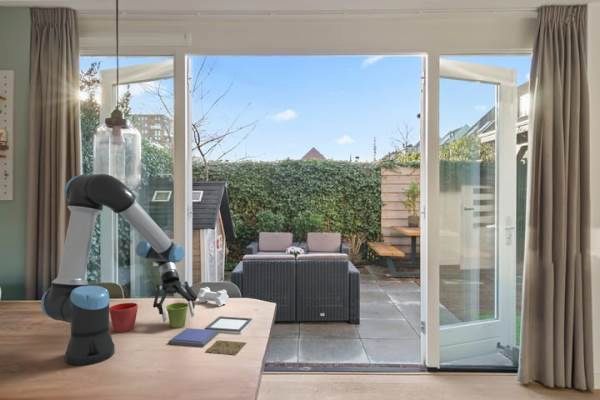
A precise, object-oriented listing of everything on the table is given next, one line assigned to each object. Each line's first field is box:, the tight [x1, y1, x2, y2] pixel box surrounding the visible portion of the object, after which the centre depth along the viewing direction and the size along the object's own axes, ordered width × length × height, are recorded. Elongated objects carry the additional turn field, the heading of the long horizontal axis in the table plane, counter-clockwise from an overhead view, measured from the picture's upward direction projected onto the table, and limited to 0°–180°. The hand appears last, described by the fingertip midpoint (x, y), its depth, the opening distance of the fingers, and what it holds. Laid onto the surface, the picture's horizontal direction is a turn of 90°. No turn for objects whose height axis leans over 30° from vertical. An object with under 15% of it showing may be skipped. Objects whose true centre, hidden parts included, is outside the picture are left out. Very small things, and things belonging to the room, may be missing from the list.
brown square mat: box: [204, 339, 247, 356], centre depth 138 cm, size 12×12×1 cm
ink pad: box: [168, 327, 220, 348], centre depth 147 cm, size 14×14×2 cm
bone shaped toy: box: [196, 286, 229, 306], centre depth 195 cm, size 15×9×8 cm, turn 60°
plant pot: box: [165, 302, 189, 329], centre depth 161 cm, size 9×9×9 cm
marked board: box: [204, 316, 254, 335], centre depth 161 cm, size 16×16×1 cm
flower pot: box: [109, 302, 139, 333], centre depth 157 cm, size 11×11×10 cm
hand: (179, 317), depth 159 cm, fingers open, 11 cm apart
